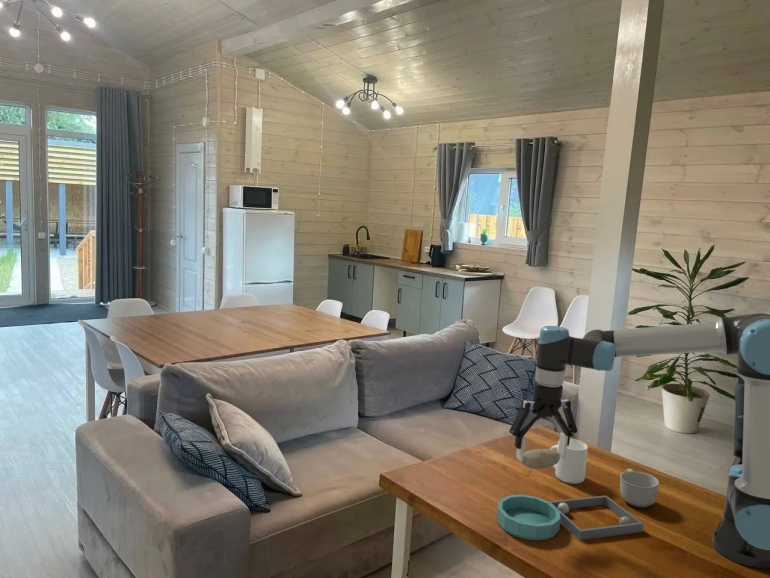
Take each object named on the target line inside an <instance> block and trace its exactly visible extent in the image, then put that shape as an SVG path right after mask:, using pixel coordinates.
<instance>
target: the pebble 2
mask: <svg viewBox="0 0 770 578" xmlns="http://www.w3.org/2000/svg"><path fill="white" fill-rule="evenodd" d="M618 521H619V522H618V523H619V525H623V524H631V520H630V519H629V518H628V517H626V516H623V517H620V518H619V520H618Z"/></svg>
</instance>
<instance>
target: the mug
mask: <svg viewBox="0 0 770 578" xmlns="http://www.w3.org/2000/svg"><path fill="white" fill-rule="evenodd" d="M558 448H559V440H558V441H557V444H555V445H553V446H551V447H550V449H551V450H555V451H556V450H557V452H558ZM588 451H589V445H588V444H587V443H585V441H582V440H578V439H573V438H570V442H569V446H567V450H566V458H565V459H563V458H562V457H560V460H559V462H558V463H557V464H555V465H554V466H551V467H552V468H553V469H554V470H555V473H554V474H555V475H554V476H555V477H556V478H557V479H558V480H559V481H561V482H564V483H566V484H569V485H571V484H572V485H577V484H578V485H579V484H581V483H583V482H584V481H585V480H586V479H585V477H586V469H587V463H588V462H587V460H588Z"/></svg>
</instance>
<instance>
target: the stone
mask: <svg viewBox="0 0 770 578" xmlns="http://www.w3.org/2000/svg"><path fill="white" fill-rule="evenodd" d="M559 460H560V455H559V453H558V452H557V451H556V449H553V450H551V448H537V449H536V448H535V449H530V450H527V451H524V459H523V461H521V464H522V465H524V466H525V467H526V468H528V469H533V470H538V469H541V470H543V469H546V468H551V467H552V466H554V465H555V464H557V463H558V462H559Z"/></svg>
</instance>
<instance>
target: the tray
mask: <svg viewBox="0 0 770 578" xmlns="http://www.w3.org/2000/svg"><path fill="white" fill-rule="evenodd" d="M548 502H550V503H552V504H553V505H554V506H555V507H556V508H557V509H558V505H559V504H560V503H566V504H567V505H568V506H569V509H576V508H586V507H595V506H604V505H605V506H606V507H607V508H609V509H610V510H611V511H612V512H613V513H615V514H616V515H618V516H619V517H620V518H621V517H623V516H626V517H628V518H629V519H630V520H631V524H623V525H620V524H616V525H608V526H599V527H592V528H591V527H590V528H584V529H581V528H580V527H579V526H578V525H576V523H575V522H573V521H572V520H571V519H570V518H568V516H567V515H566V514H563V513H562V512H561V511H560V510H559V509H558V510H559V511H560V524H562V525H563V526H564V527H565V528H566V529H567V530H568V531H569V532H570V533H571V534H572V535H573V536H575V537H576V538H577V539H578V540H579V541H581V540H582V541H583V540H590V539H597V538H606V537H613V536H619V535H620V536H621V535H628V534H636V533H643V530H644V529H643V528H644V523H643V522H642V521H641V520H640V519H638V518H636V517H635V516H634V515H632V513H630V512H629V511H628V510H627V509H624V508H623V507H622V506H621V505H619V504H618V503H617V502H615V501H614V500H613V499H611V498H610V497H609V496H608V495H600V496H599V495H597V496H589V497H579V498H578V497H577V498H569V499H560V500H559V499H558V500H552V501H551V500H549V501H548Z"/></svg>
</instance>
